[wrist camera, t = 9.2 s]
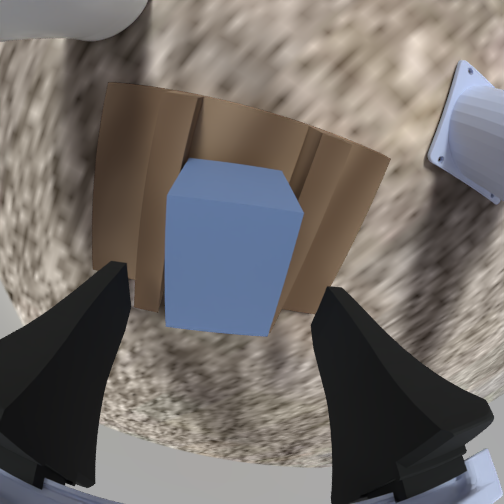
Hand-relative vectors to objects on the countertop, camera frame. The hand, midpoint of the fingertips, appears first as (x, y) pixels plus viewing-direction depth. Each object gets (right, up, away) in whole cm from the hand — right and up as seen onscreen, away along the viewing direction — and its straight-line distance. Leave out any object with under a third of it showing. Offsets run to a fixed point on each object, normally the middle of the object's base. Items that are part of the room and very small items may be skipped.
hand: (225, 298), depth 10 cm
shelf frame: (-1, +4, +7) cm, 8 cm away
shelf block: (0, +3, +5) cm, 6 cm away
